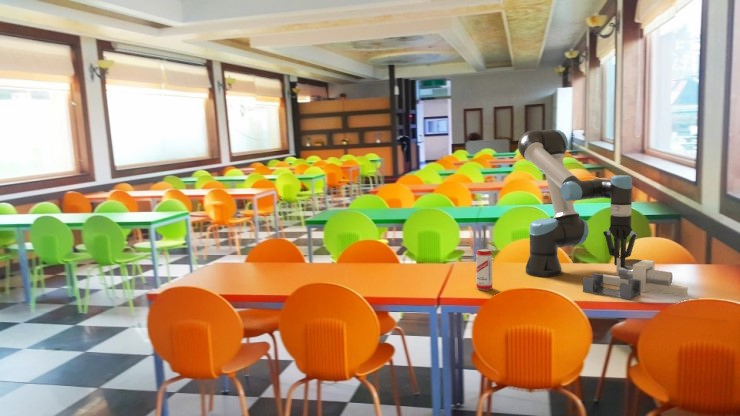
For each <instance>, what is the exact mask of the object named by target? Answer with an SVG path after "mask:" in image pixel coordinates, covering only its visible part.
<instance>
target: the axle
mask: <svg viewBox="0 0 740 416" xmlns="http://www.w3.org/2000/svg"><path fill="white" fill-rule="evenodd" d="M618 276H619V278H623V279H633V267H629V266H621V267H620V268H619V274H618ZM646 282H649V283H656V284H662V285H669V286H670V285H671V284H672V283H673V272H671V271H665V270H664V271H663V270H659V269H654V270H651V269H646Z"/></svg>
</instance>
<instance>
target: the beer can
mask: <svg viewBox="0 0 740 416" xmlns="http://www.w3.org/2000/svg"><path fill="white" fill-rule="evenodd" d="M475 257H476V258H475V262H476V263H475V265H476V266H475V268H476V271H475V272H476V274H475V275H476V276H475V277H476V279H475V280H476V288H477V289H478V290H479V291H491V290H492V288H493V253H492V252H491V249H490V248H478V249H477V251H476V254H475Z"/></svg>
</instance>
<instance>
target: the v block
mask: <svg viewBox="0 0 740 416" xmlns="http://www.w3.org/2000/svg"><path fill="white" fill-rule="evenodd" d="M603 274H604V273H603ZM603 274H601V273H595V272H594V273H593V272H592V273H591V277H586V276H583V278H582V292H583V293H589V294H594V295H600V296H606V297H612V298H617V299H621V300H622V299H623V300H629V301H632V300H633V299H636V298H637V297H638V296H640V295H641V292H640V291H641V280H636V279H628V284H625V283H620V286H619V289H617V288H611V287H605V286H604V283H603Z"/></svg>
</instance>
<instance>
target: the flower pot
mask: <svg viewBox="0 0 740 416" xmlns="http://www.w3.org/2000/svg"><path fill="white" fill-rule="evenodd" d="M642 260H643V259H637V258H625V266H629V267H633V265H634V264H636V263H638V262H640V261H642Z"/></svg>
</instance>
